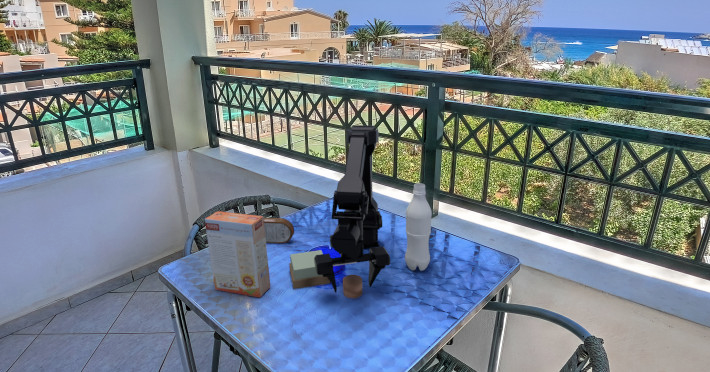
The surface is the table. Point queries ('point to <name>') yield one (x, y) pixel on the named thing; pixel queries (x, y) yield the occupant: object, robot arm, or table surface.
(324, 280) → the tower base
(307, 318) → the table surface
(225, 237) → the cracker box
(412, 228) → the water bottle
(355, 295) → the puck
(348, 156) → the robot arm
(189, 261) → the table surface
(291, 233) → the tin
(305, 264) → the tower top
